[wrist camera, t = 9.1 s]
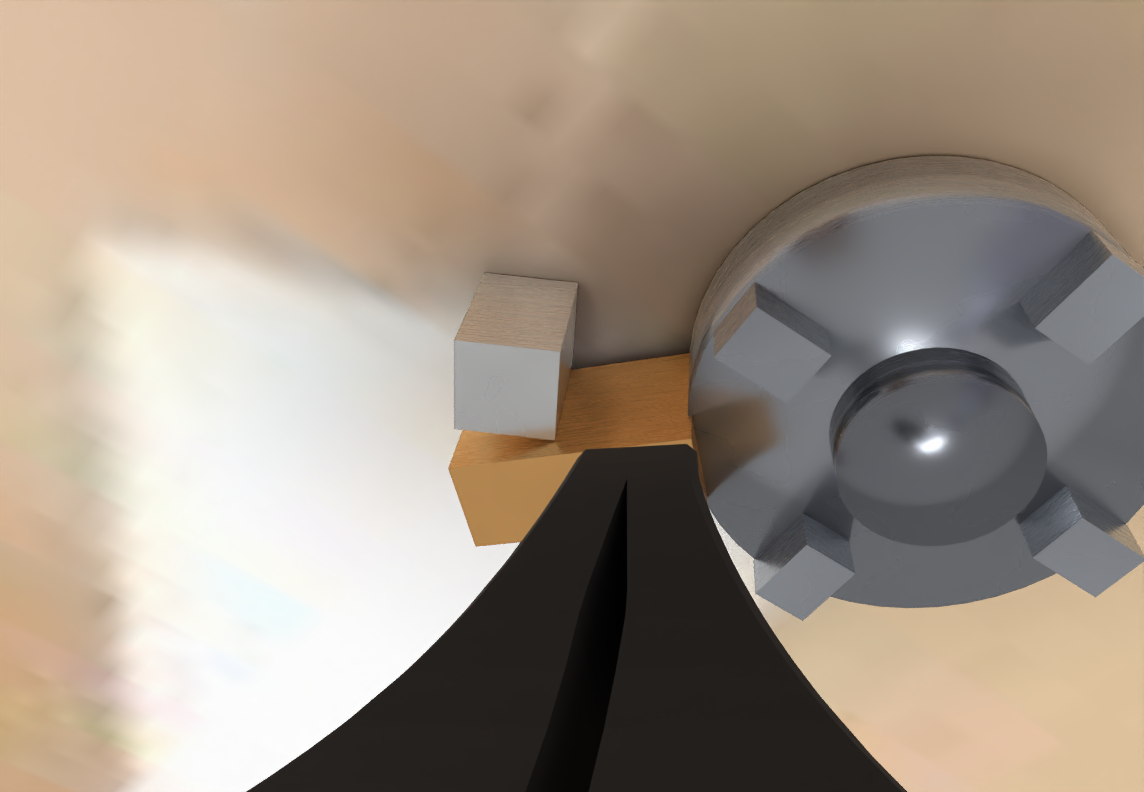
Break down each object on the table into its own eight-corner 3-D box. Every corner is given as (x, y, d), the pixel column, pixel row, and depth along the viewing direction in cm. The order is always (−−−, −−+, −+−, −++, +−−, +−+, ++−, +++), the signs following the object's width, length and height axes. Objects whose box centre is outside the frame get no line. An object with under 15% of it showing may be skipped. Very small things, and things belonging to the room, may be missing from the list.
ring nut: (1153, 113, 18) (1248, 185, 15) (1126, 511, 22) (1195, 631, 19) (435, 238, 21) (387, 320, 17) (539, 567, 25) (514, 680, 22)
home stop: (690, 278, 21) (688, 348, 18) (683, 455, 23) (681, 539, 20) (471, 272, 21) (439, 339, 19) (486, 446, 23) (459, 527, 21)
